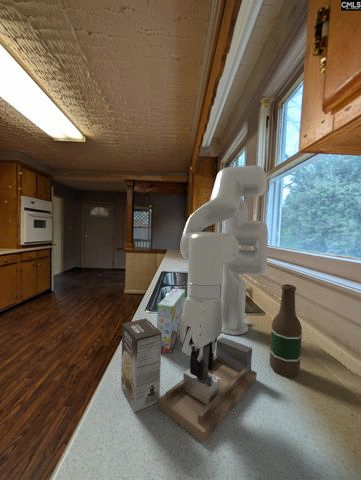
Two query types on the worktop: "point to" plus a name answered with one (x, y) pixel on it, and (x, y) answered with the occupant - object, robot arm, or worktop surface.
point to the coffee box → (141, 363)
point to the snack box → (170, 318)
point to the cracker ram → (202, 381)
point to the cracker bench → (230, 392)
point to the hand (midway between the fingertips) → (201, 371)
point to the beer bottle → (286, 336)
